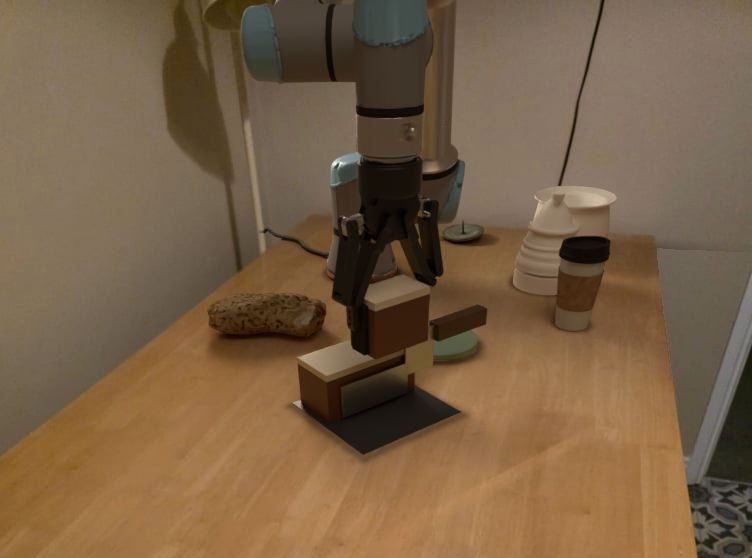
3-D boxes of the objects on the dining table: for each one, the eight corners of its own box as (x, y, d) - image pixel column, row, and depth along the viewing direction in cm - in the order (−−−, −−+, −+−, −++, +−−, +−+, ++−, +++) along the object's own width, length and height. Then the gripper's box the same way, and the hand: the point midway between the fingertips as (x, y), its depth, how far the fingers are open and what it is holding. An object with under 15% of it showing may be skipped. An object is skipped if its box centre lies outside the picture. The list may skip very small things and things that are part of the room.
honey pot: (577, 296, 133) (595, 199, 121) (512, 293, 135) (523, 198, 123) (573, 274, 142) (589, 182, 131) (512, 271, 144) (523, 181, 133)
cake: (329, 423, 96) (326, 376, 91) (300, 403, 100) (296, 357, 96) (414, 389, 103) (415, 344, 98) (384, 371, 108) (384, 327, 103)
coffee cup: (596, 335, 118) (614, 249, 109) (547, 332, 120) (561, 246, 110) (593, 316, 125) (610, 233, 115) (547, 314, 126) (560, 231, 117)
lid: (489, 244, 163) (494, 222, 161) (468, 243, 156) (472, 220, 154) (454, 238, 169) (457, 217, 167) (432, 237, 162) (435, 215, 160)
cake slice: (350, 345, 90) (348, 290, 85) (402, 327, 94) (403, 274, 89) (375, 360, 86) (374, 303, 82) (428, 340, 90) (430, 286, 86)
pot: (538, 235, 164) (545, 181, 156) (611, 242, 159) (622, 187, 151) (518, 263, 148) (525, 204, 141) (597, 272, 143) (609, 212, 135)
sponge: (328, 328, 126) (233, 295, 128) (331, 292, 120) (231, 259, 122) (300, 369, 118) (199, 334, 121) (301, 334, 112) (195, 297, 114)
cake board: (292, 406, 101) (291, 402, 100) (385, 371, 109) (385, 368, 109) (363, 458, 90) (363, 454, 89) (461, 415, 98) (461, 411, 97)
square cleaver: (346, 420, 95) (344, 358, 89) (338, 414, 97) (334, 352, 91) (482, 366, 108) (487, 308, 102) (472, 361, 109) (477, 304, 103)
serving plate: (380, 343, 118) (380, 335, 117) (439, 322, 124) (439, 314, 123) (433, 371, 109) (433, 363, 108) (493, 347, 115) (494, 339, 114)
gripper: (329, 177, 68) (339, 375, 83) (482, 147, 78) (467, 328, 93) (290, 165, 73) (306, 354, 87) (439, 137, 83) (431, 311, 97)
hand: (389, 341), depth 90 cm, fingers closed on cake slice, 9 cm apart
